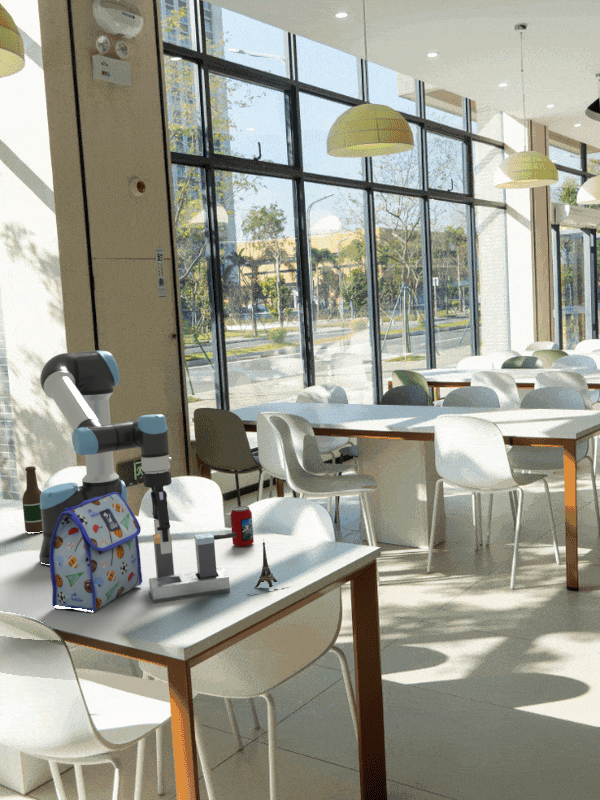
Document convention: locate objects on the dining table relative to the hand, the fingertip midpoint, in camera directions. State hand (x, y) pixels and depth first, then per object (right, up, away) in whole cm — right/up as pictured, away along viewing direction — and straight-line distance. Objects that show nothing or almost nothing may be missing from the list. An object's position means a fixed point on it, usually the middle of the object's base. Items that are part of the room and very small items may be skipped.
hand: (163, 547), depth 227 cm
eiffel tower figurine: (+29, -10, -7) cm, 31 cm away
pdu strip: (+10, -10, -8) cm, 16 cm away
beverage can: (+19, -6, +37) cm, 42 cm away
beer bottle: (-58, -8, +74) cm, 95 cm away
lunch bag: (-15, -12, -8) cm, 21 cm away
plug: (0, -10, +1) cm, 10 cm away
